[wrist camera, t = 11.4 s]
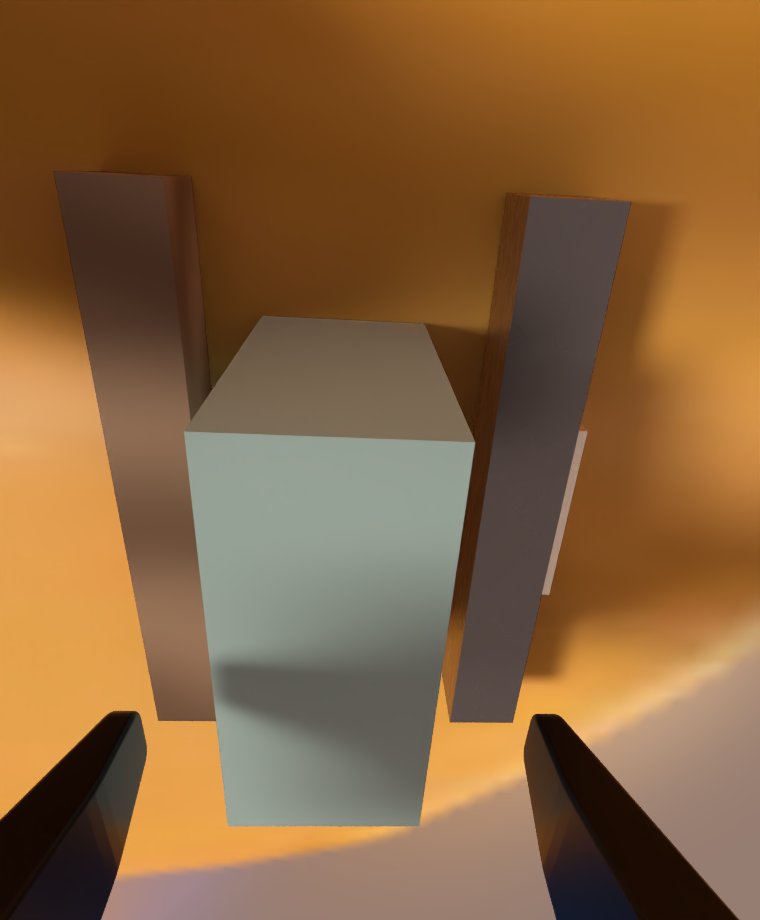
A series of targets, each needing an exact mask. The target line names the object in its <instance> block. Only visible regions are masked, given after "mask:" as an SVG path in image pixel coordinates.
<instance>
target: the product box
mask: <svg viewBox="0 0 760 920" xmlns="http://www.w3.org/2000/svg"><path fill="white" fill-rule="evenodd" d="M184 436H185V445H186V454H187V463H188V472H189V481H190V490H191V499H192V508H193V517H194V526H195V535H196V544H197V553H198V562H199V571H200V580H201V589H202V598H203V607H204V616H205V625H206V634H207V643H208V652H209V661H210V670H211V679H212V688H213V697H214V706H215V714H216V723H217V732H218V741H219V750H220V759H221V768H222V777H223V786H224V795H225V804H226V813H227V822H228V826H419V823H420V816H421V810H422V803H423V796H424V789H425V782H426V775H427V769H428V762H429V755H430V748H431V741H432V734H433V728H434V721H435V714H436V707H437V700H438V693H439V687H440V680H441V673H442V666H443V659H444V653H445V646H446V639H447V632H448V625H449V618H450V612H451V605H452V598H453V591H454V584H455V577H456V571H457V564H458V557H459V550H460V543H461V536H462V530H463V523H464V516H465V509H466V502H467V495H468V489H469V482H470V475H471V468H472V461H473V454H474V448H475V440H474V438H473V436H472V434H471V431H470V429H469V427H468V424H467V422H466V420H465V417H464V415H463V413H462V410H461V408H460V406H459V403H458V401H457V399H456V396H455V394H454V392H453V389H452V387H451V385H450V382H449V380H448V378H447V375H446V373H445V371H444V368H443V366H442V364H441V361H440V359H439V357H438V354H437V352H436V350H435V347H434V345H433V343H432V340H431V338H430V336H429V333H428V331H427V329H426V326H425V324H424V323H404V322H384V321H363V320H343V319H322V318H302V317H281V316H262V317H261V318H260V320H259V321H258V323H257V324H256V325H255V327H254V328H253V330H252V331H251V333H250V334H249V336H248V337H247V339H246V340H245V342H244V343H243V345H242V346H241V348H240V349H239V351H238V352H237V354H236V355H235V357H234V358H233V360H232V361H231V363H230V364H229V366H228V367H227V368H226V370H225V371H224V373H223V374H222V376H221V377H220V379H219V380H218V382H217V383H216V385H215V386H214V388H213V389H212V391H211V392H210V394H209V395H208V397H207V398H206V400H205V401H204V403H203V404H202V406H201V407H200V409H199V410H198V411H197V413H196V414H195V416H194V417H193V419H192V420H191V422H190V423H189V425H188V426H187V428H186V429H185V431H184Z"/></svg>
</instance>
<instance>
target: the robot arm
mask: <svg viewBox="0 0 760 920" xmlns="http://www.w3.org/2000/svg"><path fill="white" fill-rule="evenodd" d="M146 755H147V745H146V740H145V735H144V730H143V725H142V721H141V717H140V714H139V713H138V712H136V711H113V712H111V713H109V714H107V715H106V716H105V717H104V718H103V719H102V720H101V721H100V722H99V723H98V724H97V725H96V726H95V727H94V728H93V729H92V730H91V731H90V732H89V733H88V734H87V735H86V736H85V737H84V738H83V739H82V740H81V741H80V742H79V743H78V744H77V745H76V746H75V747H74V748H73V749H72V750H71V751H70V752H68V753H67V754H66V755H65V756H64V757H63V758H62V759H61V760H60V761H59V762H58V763H57V764H56V765H55V766H54V767H53V768H52V769H51V770H50V771H49V772H48V773H47V774H46V775H45V776H44V777H43V778H42V779H41V780H40V781H39V782H38V783H37V784H36V785H35V786H34V787H33V788H32V789H31V790H30V791H29V792H28V793H27V794H26V795H25V796H24V797H23V798H22V799H21V800H20V801H19V802H18V803H17V804H16V805H15V806H14V807H13V808H12V809H11V810H10V811H9V812H8V813H7V814H6V815H5V816H4V817H3V818H2V819H1V820H0V920H101V918H102V915H103V912H104V910H105V907H106V904H107V901H108V898H109V896H110V892H111V890H112V887H113V884H114V881H115V878H116V875H117V872H118V868H119V865H120V861H121V857H122V853H123V850H124V846H125V842H126V838H127V834H128V830H129V826H130V822H131V818H132V814H133V810H134V806H135V802H136V798H137V794H138V790H139V786H140V782H141V778H142V774H143V770H144V766H145V761H146ZM524 763H525V769H526V775H527V781H528V787H529V793H530V799H531V804H532V810H533V816H534V822H535V828H536V833H537V839H538V845H539V850H540V856H541V861H542V867H543V871H544V875H545V879H546V883H547V887H548V891H549V894H550V898H551V902H552V905H553V909H554V913H555V916H556V920H739V919H738V918H737V917H736V916H735V915H734V913H733V912H732V911H731V910H730V909H729V908H728V907H727V905H726V904H725V903H724V902H723V901H722V900H721V899H720V897H719V896H718V895H717V894H716V893H715V892H714V891H713V889H712V888H711V887H710V886H709V885H708V884H707V883H706V882H705V880H704V879H703V878H702V877H701V876H700V875H699V873H698V872H697V871H696V870H695V869H694V868H693V867H692V865H691V864H690V863H689V862H688V861H687V860H686V859H685V857H684V856H683V855H682V854H681V853H680V852H679V851H678V850H677V848H676V847H675V846H674V845H673V844H672V843H671V841H670V840H669V839H668V838H667V837H666V836H665V835H664V834H663V832H662V831H661V830H660V829H659V828H658V827H657V825H656V824H655V823H654V822H653V821H652V820H651V819H650V818H649V816H648V815H647V814H646V813H645V812H644V811H643V810H642V808H641V807H640V806H639V805H638V804H637V803H636V802H635V800H634V799H633V798H632V797H631V796H630V795H629V794H628V792H627V791H626V790H625V789H624V788H623V787H622V786H621V784H620V783H619V782H618V781H617V780H616V779H615V778H614V776H613V775H612V774H611V773H610V772H609V771H608V770H607V768H606V767H605V766H604V765H603V764H602V763H601V762H600V760H599V759H598V758H597V757H596V756H595V755H594V754H593V752H592V751H591V750H590V749H589V748H588V747H587V746H586V744H585V743H584V742H583V741H582V740H581V739H580V738H579V736H578V735H577V734H576V733H575V732H574V731H573V730H572V728H571V727H570V726H569V725H568V724H567V723H566V722H565V720H564V719H563V718H562V717H560V716H559V715H556V714H535V715H534V716H533V717H532V719H531V722H530V726H529V730H528V734H527V738H526V742H525V746H524Z"/></svg>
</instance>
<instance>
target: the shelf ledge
mask: <svg viewBox="0 0 760 920" xmlns="http://www.w3.org/2000/svg"><path fill="white" fill-rule="evenodd" d="M54 176H55V182H56V187H57V192H58V197H59V203H60V208H61V213H62V218H63V223H64V229H65V234H66V239H67V244H68V250H69V255H70V260H71V265H72V271H73V276H74V281H75V286H76V292H77V297H78V302H79V307H80V313H81V318H82V323H83V328H84V333H85V339H86V344H87V349H88V354H89V360H90V365H91V370H92V375H93V381H94V386H95V391H96V396H97V402H98V407H99V412H100V417H101V423H102V428H103V433H104V438H105V444H106V449H107V454H108V459H109V464H110V470H111V475H112V480H113V485H114V491H115V496H116V501H117V506H118V512H119V517H120V522H121V527H122V533H123V538H124V543H125V548H126V554H127V559H128V564H129V569H130V574H131V580H132V585H133V590H134V595H135V601H136V606H137V611H138V616H139V622H140V627H141V632H142V637H143V643H144V648H145V653H146V658H147V664H148V669H149V674H150V679H151V685H152V690H153V695H154V700H155V705H156V711H157V716H158V721H216V714H215V706H214V697H213V688H212V679H211V670H210V661H209V652H208V643H207V634H206V625H205V616H204V607H203V598H202V589H201V580H200V571H199V562H198V553H197V544H196V535H195V526H194V517H193V508H192V499H191V490H190V481H189V472H188V463H187V454H186V445H185V436H184V431H185V429H186V428H187V426H188V425H189V423H190V422H191V420H192V419H193V417H194V416H195V414H196V413H197V411H198V410H199V409H200V407H201V406H202V404H203V403H204V401H205V400H206V398H207V397H208V395H209V394H210V392H211V383H210V372H209V361H208V350H207V339H206V329H205V318H204V307H203V296H202V285H201V274H200V264H199V253H198V242H197V231H196V220H195V210H194V199H193V188H192V177H191V176H175V175H156V174H137V173H119V172H100V171H54Z"/></svg>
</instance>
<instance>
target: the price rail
mask: <svg viewBox="0 0 760 920" xmlns="http://www.w3.org/2000/svg"><path fill="white" fill-rule="evenodd" d="M630 205H631V202H629V201H620V200H611V199H602V198H591V197H572V196H553V195H535V194H516V193H507V194H506V202H505V209H504V216H503V224H502V231H501V238H500V246H499V253H498V261H497V268H496V275H495V283H494V290H493V297H492V305H491V312H490V319H489V327H488V334H487V342H486V349H485V356H484V364H483V371H482V378H481V386H480V393H479V401H478V408H477V415H476V423H475V430H474V437H473V438H474V440H475V448H474V454H473V461H472V468H471V475H470V482H469V489H468V495H467V502H466V509H465V516H464V523H463V530H462V536H461V543H460V550H459V557H458V564H457V571H456V577H455V584H454V591H453V598H452V605H451V612H450V618H449V625H448V632H447V639H446V646H445V653H444V659H443V666H442V677H443V683H444V689H445V696H446V702H447V708H448V714H449V720H450V722H491V723H513V719H514V714H515V710H516V706H517V701H518V697H519V692H520V688H521V684H522V679H523V675H524V671H525V666H526V662H527V657H528V653H529V649H530V644H531V640H532V635H533V631H534V627H535V622H536V618H537V613H538V609H539V605H540V600H541V596H542V595H549V594H550V589H551V585H552V581H553V577H554V572H555V568H556V564H557V560H558V555H559V551H560V547H561V543H562V538H563V534H564V530H565V526H566V521H567V517H568V513H569V509H570V504H571V500H572V496H573V492H574V487H575V483H576V479H577V475H578V470H579V466H580V462H581V458H582V453H583V449H584V445H585V441H586V436H587V432H588V431H587V430H586V429H585V428H584V427H583V426H582V424H581V420H582V416H583V411H584V407H585V403H586V398H587V394H588V390H589V385H590V381H591V376H592V372H593V368H594V363H595V359H596V354H597V350H598V346H599V341H600V337H601V332H602V328H603V324H604V319H605V315H606V310H607V306H608V302H609V297H610V293H611V289H612V284H613V280H614V275H615V271H616V267H617V262H618V258H619V253H620V249H621V245H622V240H623V236H624V231H625V227H626V223H627V218H628V214H629V210H630Z"/></svg>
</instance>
